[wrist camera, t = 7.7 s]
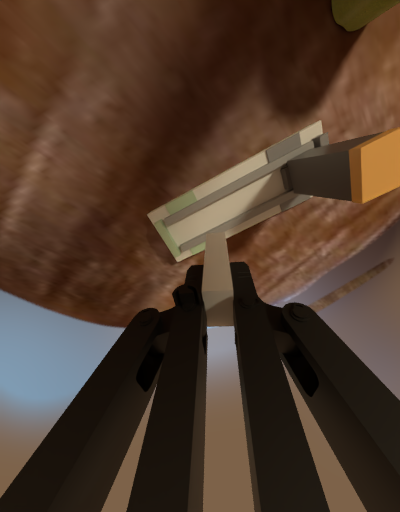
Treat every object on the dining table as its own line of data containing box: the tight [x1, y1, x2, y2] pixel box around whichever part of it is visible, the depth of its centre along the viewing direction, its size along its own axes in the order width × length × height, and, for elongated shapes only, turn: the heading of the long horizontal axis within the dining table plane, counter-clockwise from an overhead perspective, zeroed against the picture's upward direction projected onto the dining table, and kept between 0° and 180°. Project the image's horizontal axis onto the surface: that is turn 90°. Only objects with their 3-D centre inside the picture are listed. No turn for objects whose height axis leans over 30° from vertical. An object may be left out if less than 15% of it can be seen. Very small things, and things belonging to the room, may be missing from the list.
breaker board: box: [147, 120, 329, 262], centre depth 25 cm, size 26×9×4 cm, turn 116°
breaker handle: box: [280, 127, 400, 204], centre depth 18 cm, size 4×4×11 cm
